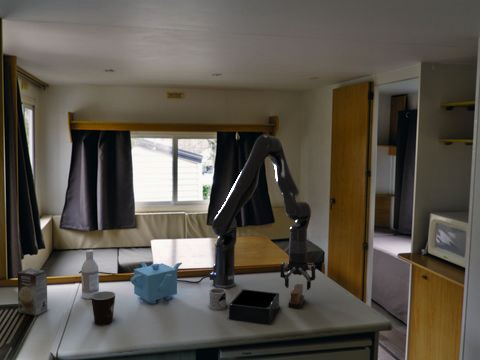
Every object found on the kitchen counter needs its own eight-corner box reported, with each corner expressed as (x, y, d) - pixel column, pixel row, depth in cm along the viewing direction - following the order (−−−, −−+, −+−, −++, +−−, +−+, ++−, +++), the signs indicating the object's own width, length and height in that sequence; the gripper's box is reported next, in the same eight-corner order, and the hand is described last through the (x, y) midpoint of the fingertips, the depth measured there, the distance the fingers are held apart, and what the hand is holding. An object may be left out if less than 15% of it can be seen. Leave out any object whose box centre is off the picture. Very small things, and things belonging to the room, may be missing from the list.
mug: (221, 310, 171) (222, 294, 171) (206, 308, 174) (206, 292, 173) (231, 302, 181) (231, 286, 180) (216, 299, 183) (216, 284, 182)
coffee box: (17, 312, 167) (16, 272, 166) (30, 306, 174) (29, 267, 172) (36, 316, 164) (34, 275, 163) (48, 309, 171) (47, 270, 169)
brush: (288, 308, 175) (288, 292, 174) (293, 297, 186) (293, 283, 186) (300, 309, 173) (300, 293, 173) (304, 299, 185) (305, 284, 184)
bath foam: (81, 294, 188) (80, 249, 186) (98, 292, 190) (97, 248, 188) (82, 300, 181) (81, 253, 179) (99, 297, 184) (98, 251, 182)
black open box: (229, 319, 164) (229, 304, 163) (242, 302, 180) (242, 289, 180) (269, 324, 159) (269, 309, 158) (278, 307, 176) (279, 293, 175)
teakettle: (128, 305, 176) (127, 270, 175) (141, 289, 195) (140, 257, 193) (173, 306, 175) (173, 271, 174) (182, 290, 194) (182, 258, 192)
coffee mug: (102, 328, 154) (101, 301, 154) (86, 322, 159) (85, 296, 158) (126, 317, 164) (126, 291, 163) (111, 312, 169) (110, 287, 168)
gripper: (316, 249, 179) (315, 287, 181) (282, 246, 183) (282, 284, 185) (314, 253, 172) (313, 293, 174) (279, 251, 176) (279, 289, 178)
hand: (297, 288), depth 179 cm, fingers open, 8 cm apart
